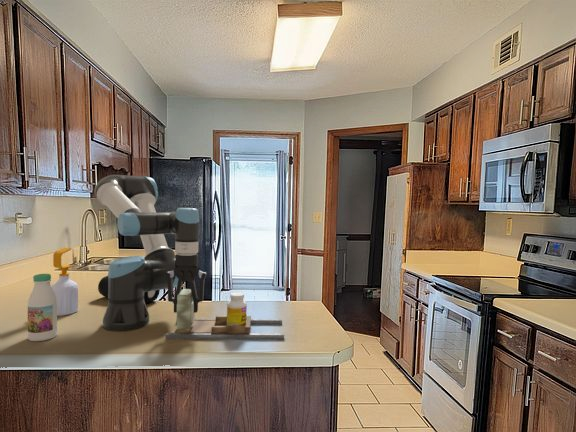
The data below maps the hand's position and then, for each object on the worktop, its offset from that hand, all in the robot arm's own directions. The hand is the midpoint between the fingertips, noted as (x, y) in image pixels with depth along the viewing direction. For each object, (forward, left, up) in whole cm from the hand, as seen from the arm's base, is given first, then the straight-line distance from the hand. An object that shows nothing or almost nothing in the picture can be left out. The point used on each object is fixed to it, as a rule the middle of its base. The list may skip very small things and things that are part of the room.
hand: (185, 321), depth 125 cm
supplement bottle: (+12, +12, -3) cm, 18 cm away
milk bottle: (-26, -35, -3) cm, 44 cm away
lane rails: (+10, +10, -3) cm, 15 cm away
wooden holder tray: (+7, +7, -3) cm, 10 cm away
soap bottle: (-48, -22, -3) cm, 53 cm away
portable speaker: (-48, +3, -4) cm, 48 cm away
